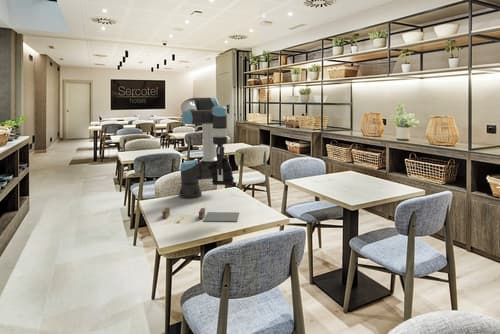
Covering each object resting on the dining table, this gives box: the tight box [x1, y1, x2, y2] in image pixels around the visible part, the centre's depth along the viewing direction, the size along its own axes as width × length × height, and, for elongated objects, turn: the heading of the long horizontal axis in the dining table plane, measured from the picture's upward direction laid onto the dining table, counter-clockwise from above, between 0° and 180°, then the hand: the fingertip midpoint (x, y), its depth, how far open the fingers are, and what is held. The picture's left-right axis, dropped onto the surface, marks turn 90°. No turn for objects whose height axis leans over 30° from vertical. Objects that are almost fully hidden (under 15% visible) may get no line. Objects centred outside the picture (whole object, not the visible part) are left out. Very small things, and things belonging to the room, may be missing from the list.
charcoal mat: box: [202, 211, 240, 223], centre depth 191 cm, size 14×18×1 cm
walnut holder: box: [161, 207, 206, 220], centre depth 192 cm, size 22×7×4 cm, turn 87°
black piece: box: [208, 156, 235, 186], centre depth 187 cm, size 4×13×15 cm, turn 85°
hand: (220, 179), depth 187 cm, fingers closed on black piece, 4 cm apart
